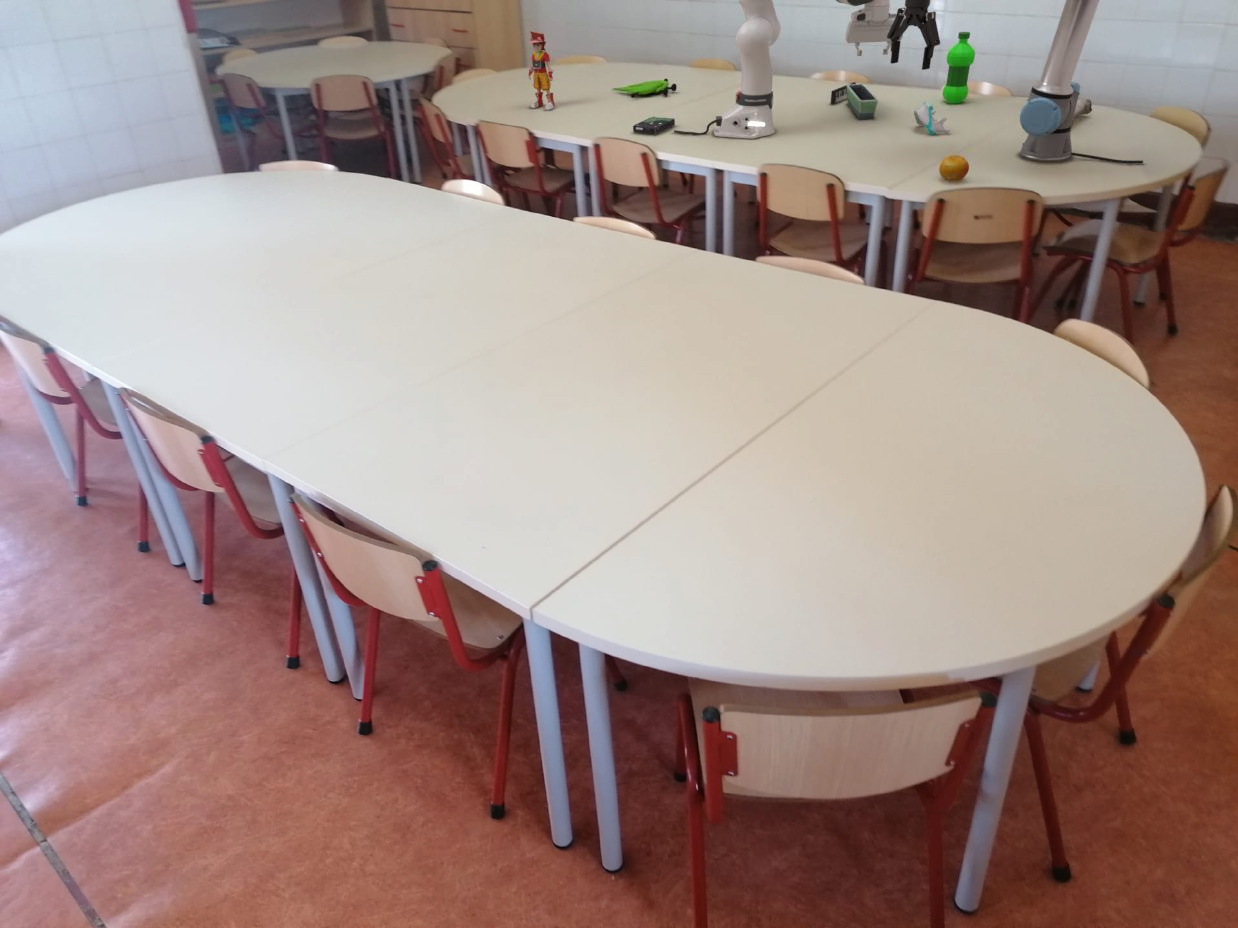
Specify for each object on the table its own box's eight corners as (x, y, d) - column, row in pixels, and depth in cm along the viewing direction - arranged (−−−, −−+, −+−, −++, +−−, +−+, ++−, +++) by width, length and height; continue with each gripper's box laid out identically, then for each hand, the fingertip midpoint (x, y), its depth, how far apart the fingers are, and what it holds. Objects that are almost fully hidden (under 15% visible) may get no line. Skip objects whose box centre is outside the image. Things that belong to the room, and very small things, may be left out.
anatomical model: (908, 101, 325) (935, 94, 324) (909, 130, 331) (936, 123, 330) (923, 112, 313) (951, 104, 312) (924, 141, 319) (952, 134, 318)
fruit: (933, 171, 274) (950, 147, 271) (934, 173, 282) (951, 150, 279) (956, 186, 273) (974, 163, 270) (956, 188, 281) (973, 165, 278)
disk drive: (656, 136, 337) (675, 125, 347) (656, 128, 335) (675, 118, 345) (632, 133, 342) (652, 123, 352) (632, 125, 340) (651, 115, 350)
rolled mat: (1059, 103, 333) (1083, 86, 324) (1072, 124, 333) (1097, 107, 325) (1027, 125, 315) (1052, 107, 307) (1041, 147, 316) (1067, 130, 308)
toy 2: (686, 85, 398) (631, 84, 414) (685, 72, 395) (629, 72, 411) (651, 104, 381) (596, 103, 397) (650, 92, 378) (594, 91, 394)
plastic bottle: (973, 101, 354) (984, 32, 339) (955, 106, 349) (966, 36, 335) (952, 97, 361) (962, 29, 346) (934, 102, 356) (944, 33, 342)
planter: (876, 120, 339) (878, 100, 335) (857, 120, 340) (859, 100, 336) (862, 102, 362) (864, 83, 358) (844, 103, 362) (846, 84, 358)
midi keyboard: (833, 104, 361) (834, 91, 358) (830, 104, 362) (831, 91, 359) (855, 95, 372) (856, 82, 369) (852, 95, 372) (853, 82, 370)
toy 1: (525, 109, 381) (517, 32, 364) (534, 104, 388) (527, 28, 371) (550, 110, 377) (543, 32, 360) (559, 105, 384) (553, 28, 367)
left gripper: (903, 11, 325) (899, 52, 333) (846, 13, 326) (843, 54, 334) (907, 13, 320) (902, 55, 327) (849, 16, 321) (845, 58, 329)
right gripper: (958, -5, 271) (947, 70, 283) (897, -12, 289) (889, 59, 301) (941, -2, 268) (930, 73, 280) (880, -9, 286) (873, 62, 298)
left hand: (872, 55), depth 331 cm, fingers open, 8 cm apart
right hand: (909, 66), depth 291 cm, fingers open, 13 cm apart
